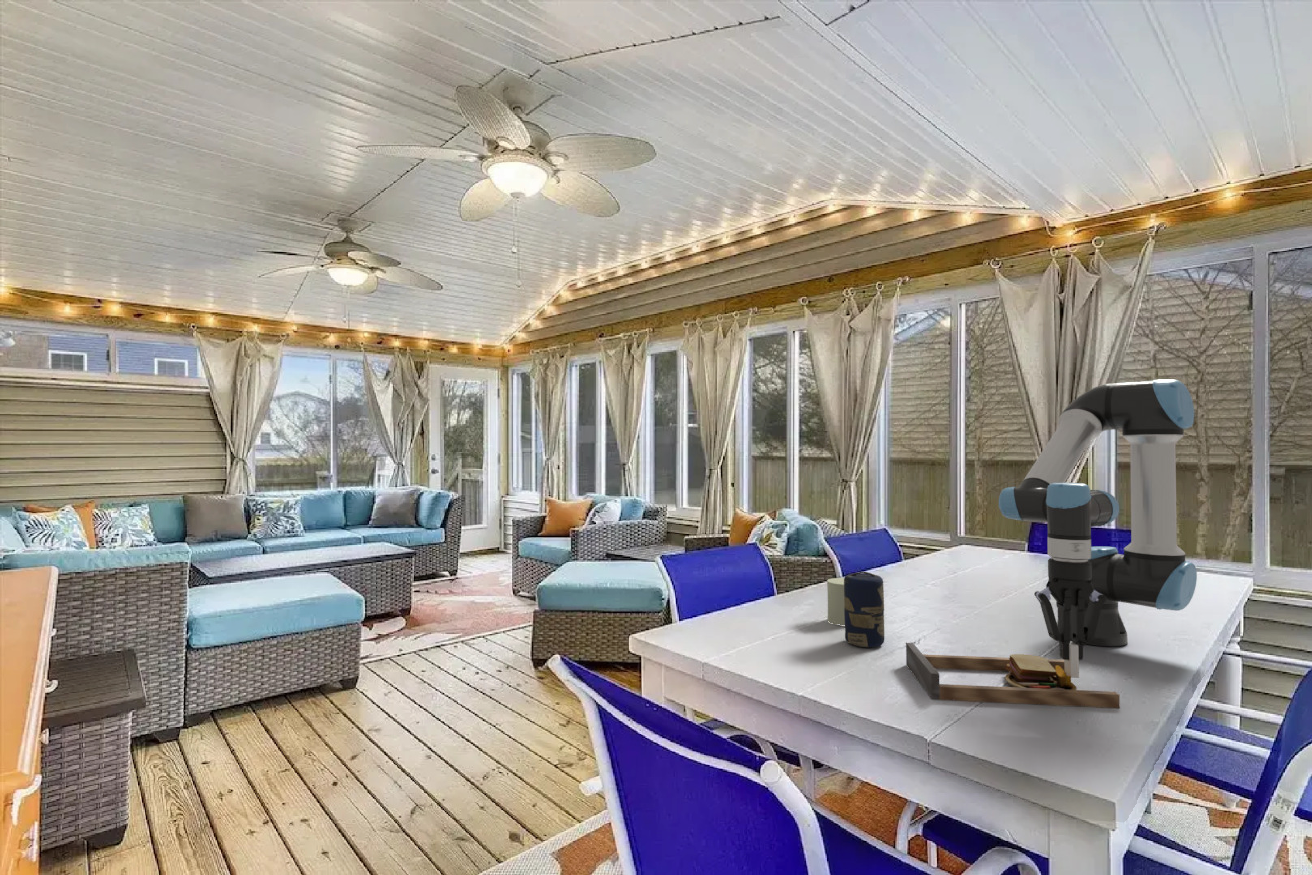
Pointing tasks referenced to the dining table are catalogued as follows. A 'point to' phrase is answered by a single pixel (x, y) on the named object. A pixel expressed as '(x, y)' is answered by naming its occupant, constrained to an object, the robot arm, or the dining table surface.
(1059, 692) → the open-ended frame
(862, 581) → the canister
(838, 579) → the can
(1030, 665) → the toy sandwich meal
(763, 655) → the dining table surface
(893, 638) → the dining table surface
